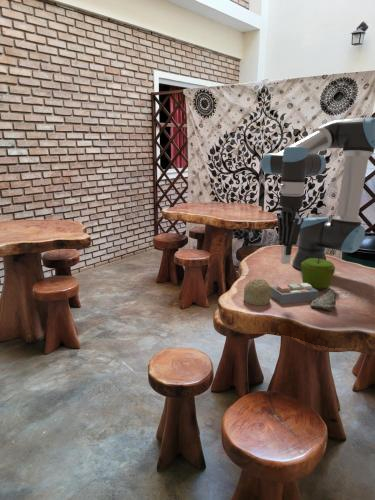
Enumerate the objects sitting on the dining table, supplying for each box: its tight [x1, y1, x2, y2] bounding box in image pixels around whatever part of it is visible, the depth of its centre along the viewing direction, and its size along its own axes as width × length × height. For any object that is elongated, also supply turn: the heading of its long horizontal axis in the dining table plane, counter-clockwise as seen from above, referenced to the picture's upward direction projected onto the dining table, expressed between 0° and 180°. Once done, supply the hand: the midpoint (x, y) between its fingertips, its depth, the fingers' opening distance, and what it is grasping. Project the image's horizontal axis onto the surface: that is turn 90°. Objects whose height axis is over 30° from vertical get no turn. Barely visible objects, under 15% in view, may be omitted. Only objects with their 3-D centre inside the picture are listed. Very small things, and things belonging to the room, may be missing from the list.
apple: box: [300, 258, 336, 290], centre depth 140 cm, size 12×12×11 cm
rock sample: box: [309, 288, 337, 312], centre depth 122 cm, size 10×8×9 cm
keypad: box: [271, 283, 319, 305], centre depth 130 cm, size 14×8×4 cm, turn 106°
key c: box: [277, 284, 290, 293], centre depth 128 cm, size 3×3×2 cm
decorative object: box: [243, 278, 272, 306], centre depth 126 cm, size 9×10×10 cm
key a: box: [298, 282, 312, 290], centre depth 130 cm, size 3×3×2 cm
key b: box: [287, 283, 301, 291], centre depth 129 cm, size 3×3×2 cm
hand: (285, 263), depth 125 cm, fingers closed
